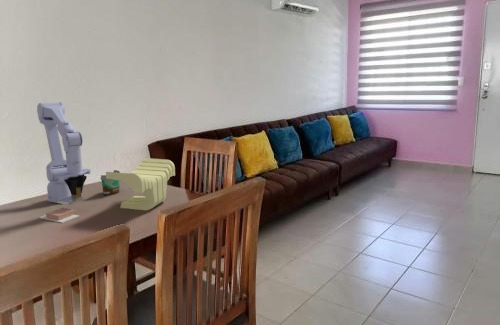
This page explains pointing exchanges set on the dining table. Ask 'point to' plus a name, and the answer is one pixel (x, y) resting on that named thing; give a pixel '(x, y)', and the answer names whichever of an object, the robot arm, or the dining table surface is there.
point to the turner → (72, 198)
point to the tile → (60, 213)
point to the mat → (60, 219)
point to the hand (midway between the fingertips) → (76, 193)
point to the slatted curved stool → (146, 182)
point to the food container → (110, 185)
